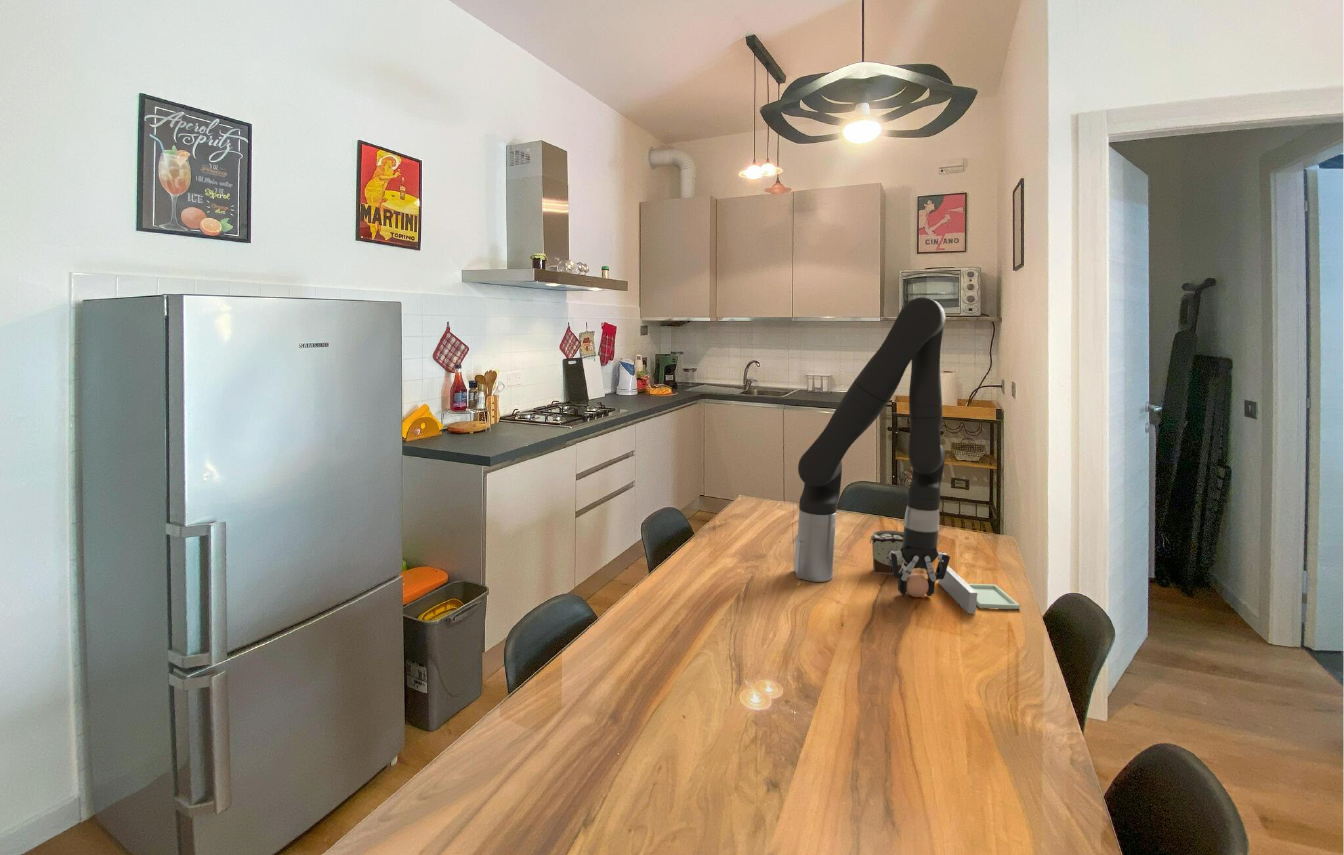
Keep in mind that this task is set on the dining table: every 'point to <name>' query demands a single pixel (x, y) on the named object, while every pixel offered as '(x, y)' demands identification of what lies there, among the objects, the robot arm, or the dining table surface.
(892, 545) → the food container
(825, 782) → the dining table surface
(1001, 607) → the sage tray
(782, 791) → the dining table surface
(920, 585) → the ball
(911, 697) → the dining table surface
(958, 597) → the low wall
